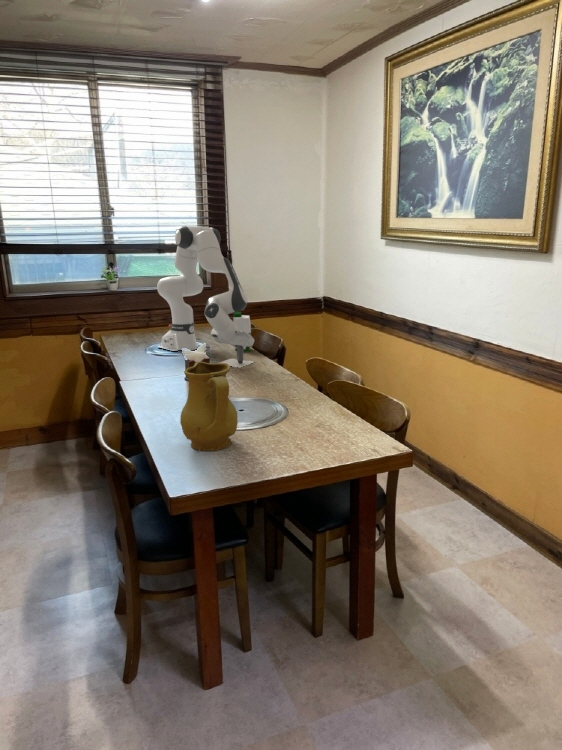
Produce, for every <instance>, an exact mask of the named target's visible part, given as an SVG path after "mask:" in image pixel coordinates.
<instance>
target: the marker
mask: <svg viewBox="0 0 562 750" xmlns="http://www.w3.org/2000/svg"><path fill="white" fill-rule="evenodd" d="M236 359H237V361H238V363H243V360H244V351H243V349H242V348H241V345H237V352H236Z"/></svg>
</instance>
